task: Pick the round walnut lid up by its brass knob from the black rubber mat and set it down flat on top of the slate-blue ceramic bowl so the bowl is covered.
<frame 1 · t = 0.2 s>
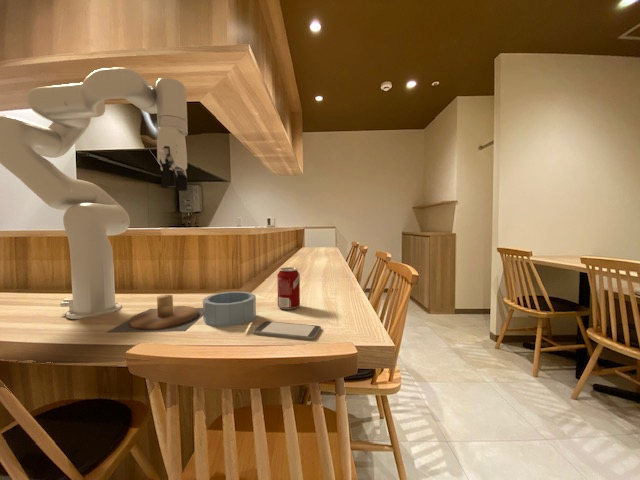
hand: (175, 188, 79), 36 cm above the counter, tool pointing down, fingers open, 9 cm apart
lid: (165, 318, 74), point 1 cm above the counter, touching mat
bowl: (230, 319, 75), on the counter
mat: (165, 320, 74), on the counter
soda can: (288, 308, 85), on the counter
smartphone: (287, 333, 66), on the counter
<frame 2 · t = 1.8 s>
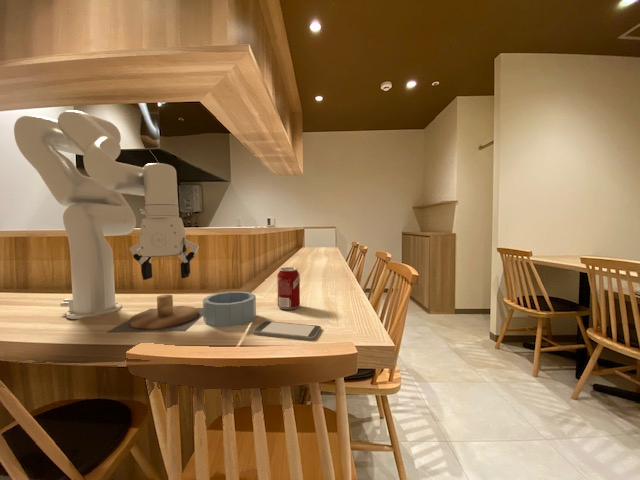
hand: (166, 278, 73), 11 cm above the counter, tool pointing down, fingers open, 9 cm apart
nothing on the counter moved.
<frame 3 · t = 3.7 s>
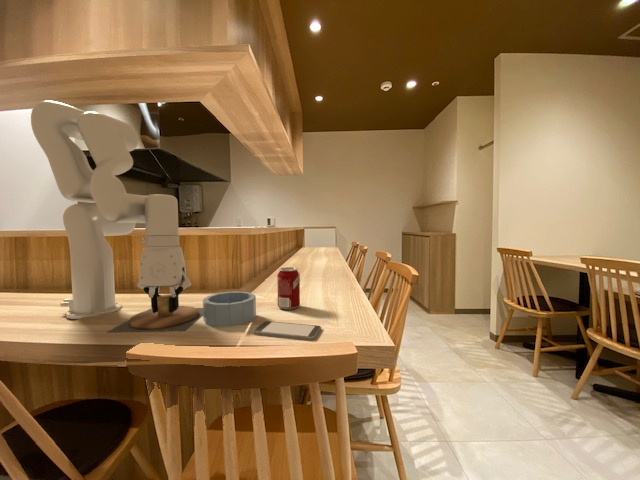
hand: (165, 310, 74), 3 cm above the counter, tool pointing down, fingers closed on lid, 3 cm apart
lid: (165, 318, 74), point 1 cm above the counter, touching gripper, mat
everything else where it was.
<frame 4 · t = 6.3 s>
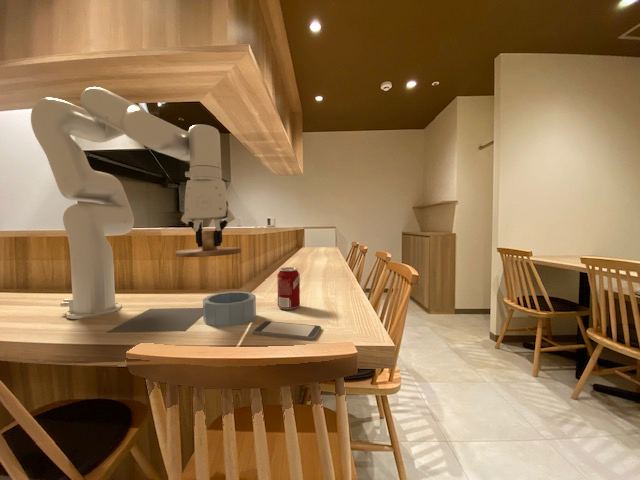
hand: (209, 245, 73), 20 cm above the counter, tool pointing down, fingers closed on lid, 3 cm apart
lid: (209, 253, 73), point 18 cm above the counter, touching gripper
everything else where it was.
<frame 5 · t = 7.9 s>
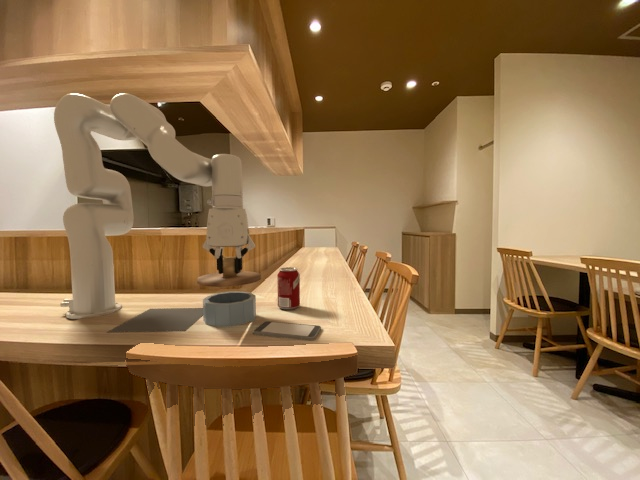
hand: (229, 272, 74), 13 cm above the counter, tool pointing down, fingers closed on lid, 3 cm apart
lid: (230, 279, 74), point 11 cm above the counter, touching gripper
everything else where it was.
when the fingers open (10 cm above the counter, at t = 9.2 s): lid drops 2 cm, resting on bowl.
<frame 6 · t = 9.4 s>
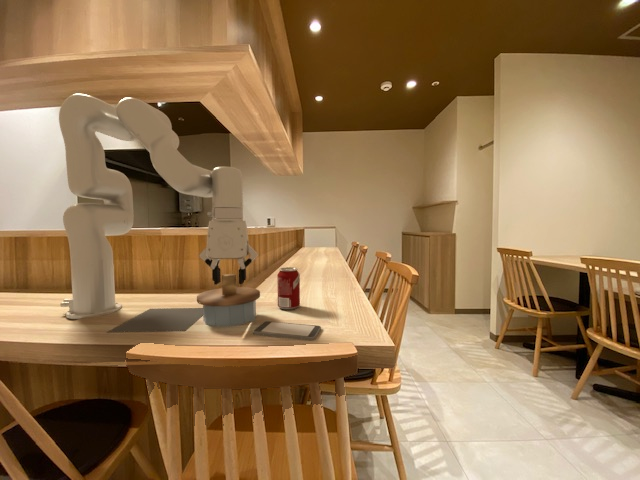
hand: (229, 282, 74), 10 cm above the counter, tool pointing down, fingers open, 5 cm apart
lid: (229, 297, 74), point 6 cm above the counter, touching bowl
everything else where it was.
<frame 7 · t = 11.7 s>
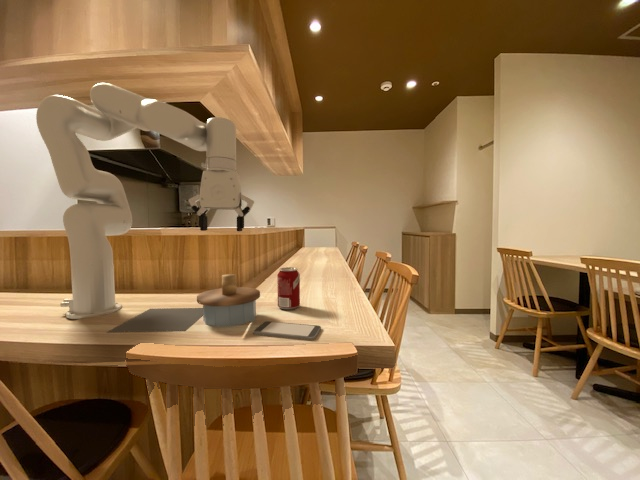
hand: (221, 230, 76), 24 cm above the counter, tool pointing down, fingers open, 9 cm apart
nothing on the counter moved.
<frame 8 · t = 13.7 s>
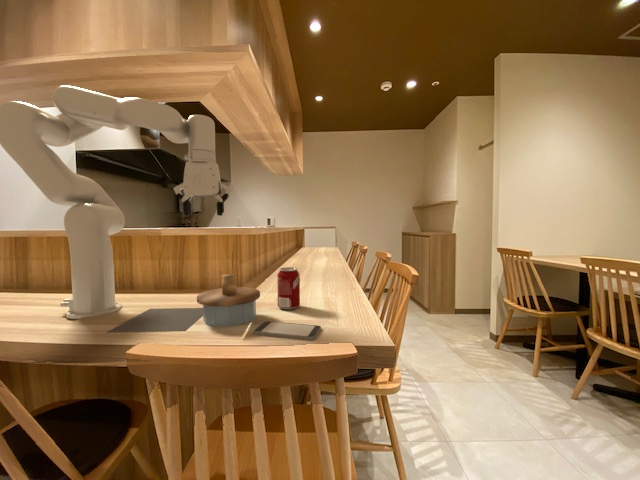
hand: (204, 215, 85), 28 cm above the counter, tool pointing down, fingers open, 9 cm apart
nothing on the counter moved.
at the end: lid 0.1 cm off-centre on the bowl, point 6.0 cm above the bowl's base; lid tilted 0°; the gripper is holding nothing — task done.
